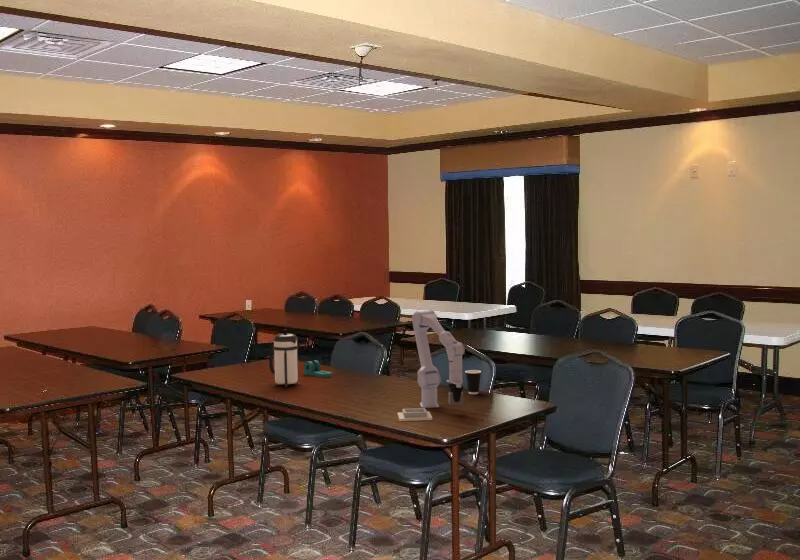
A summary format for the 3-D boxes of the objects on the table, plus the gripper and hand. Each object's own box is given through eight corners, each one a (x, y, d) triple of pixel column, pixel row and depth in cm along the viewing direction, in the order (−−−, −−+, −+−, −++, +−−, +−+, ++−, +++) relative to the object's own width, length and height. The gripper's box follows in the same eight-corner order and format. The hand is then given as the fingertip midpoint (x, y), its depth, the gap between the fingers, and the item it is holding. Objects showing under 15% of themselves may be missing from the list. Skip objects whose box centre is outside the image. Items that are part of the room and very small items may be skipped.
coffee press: (302, 381, 439) (300, 326, 437) (299, 387, 423) (297, 330, 421) (269, 382, 438) (268, 327, 436) (265, 388, 422) (264, 331, 420)
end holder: (397, 414, 358) (397, 408, 358) (429, 413, 360) (428, 406, 359) (399, 421, 347) (399, 414, 346) (432, 420, 348) (432, 413, 348)
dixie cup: (484, 392, 403) (484, 370, 402) (476, 395, 396) (476, 373, 395) (470, 391, 407) (469, 369, 406) (462, 393, 401) (462, 371, 400)
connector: (448, 403, 361) (448, 392, 361) (461, 402, 362) (461, 391, 361) (450, 405, 357) (449, 393, 357) (463, 404, 358) (463, 393, 357)
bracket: (303, 374, 460) (303, 361, 460) (312, 373, 465) (312, 359, 465) (325, 378, 448) (325, 364, 448) (334, 376, 453) (333, 362, 453)
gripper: (443, 367, 365) (444, 397, 366) (449, 373, 351) (450, 404, 352) (459, 367, 366) (459, 396, 367) (465, 372, 352) (466, 403, 353)
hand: (455, 400), depth 359 cm, fingers closed on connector, 4 cm apart
